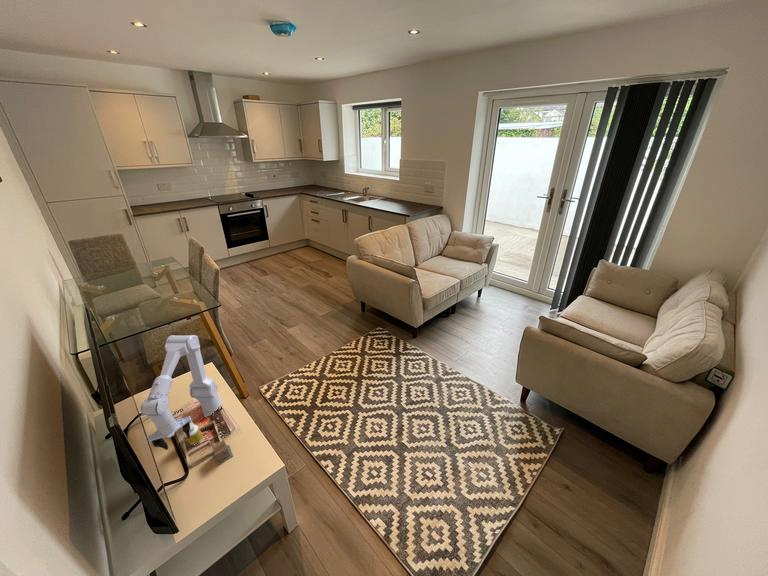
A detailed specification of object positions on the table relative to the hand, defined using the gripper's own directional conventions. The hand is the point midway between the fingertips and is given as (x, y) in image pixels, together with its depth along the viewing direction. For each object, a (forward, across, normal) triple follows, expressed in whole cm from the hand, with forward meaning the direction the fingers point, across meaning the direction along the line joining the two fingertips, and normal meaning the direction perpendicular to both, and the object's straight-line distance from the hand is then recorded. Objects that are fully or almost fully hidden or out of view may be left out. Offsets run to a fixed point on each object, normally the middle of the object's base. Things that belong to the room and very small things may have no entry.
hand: (178, 441), depth 121 cm
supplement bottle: (+10, +4, +5) cm, 12 cm away
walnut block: (+10, +12, -10) cm, 18 cm away
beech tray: (+10, +6, +1) cm, 12 cm away
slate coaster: (+10, +12, -10) cm, 18 cm away
